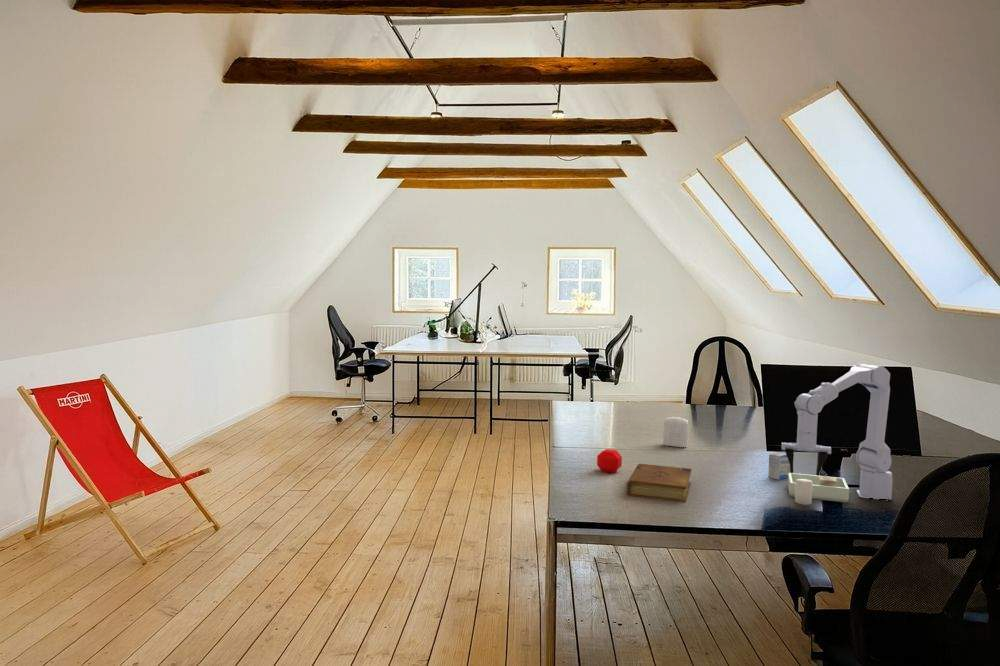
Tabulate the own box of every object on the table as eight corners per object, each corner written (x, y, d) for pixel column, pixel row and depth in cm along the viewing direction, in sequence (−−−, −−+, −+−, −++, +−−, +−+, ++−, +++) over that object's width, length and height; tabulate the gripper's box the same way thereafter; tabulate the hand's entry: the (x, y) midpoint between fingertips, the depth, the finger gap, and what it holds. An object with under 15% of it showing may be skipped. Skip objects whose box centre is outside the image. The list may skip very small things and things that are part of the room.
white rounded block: (688, 446, 311) (689, 417, 310) (686, 448, 307) (688, 419, 306) (664, 443, 315) (665, 415, 314) (662, 445, 311) (663, 416, 310)
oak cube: (834, 492, 245) (835, 477, 245) (836, 496, 241) (836, 481, 240) (818, 490, 247) (819, 475, 247) (819, 494, 242) (820, 479, 242)
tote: (843, 491, 250) (843, 478, 249) (848, 502, 237) (849, 488, 237) (787, 485, 255) (788, 472, 255) (789, 496, 242) (790, 482, 242)
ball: (623, 470, 271) (624, 450, 270) (615, 475, 264) (615, 454, 263) (603, 467, 275) (603, 447, 274) (594, 472, 268) (595, 451, 267)
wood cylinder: (810, 500, 238) (812, 479, 237) (812, 505, 233) (813, 483, 233) (794, 499, 239) (795, 478, 239) (795, 503, 235) (796, 482, 234)
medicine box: (778, 480, 262) (780, 456, 261) (767, 477, 265) (768, 453, 264) (791, 477, 266) (792, 453, 265) (780, 474, 270) (781, 451, 269)
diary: (636, 479, 262) (637, 463, 261) (690, 485, 256) (691, 468, 255) (626, 496, 240) (627, 479, 239) (685, 503, 234) (686, 485, 234)
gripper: (783, 432, 233) (780, 474, 234) (833, 436, 228) (830, 479, 229) (782, 427, 240) (780, 468, 241) (830, 431, 235) (828, 473, 236)
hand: (804, 473), depth 236 cm, fingers open, 7 cm apart
